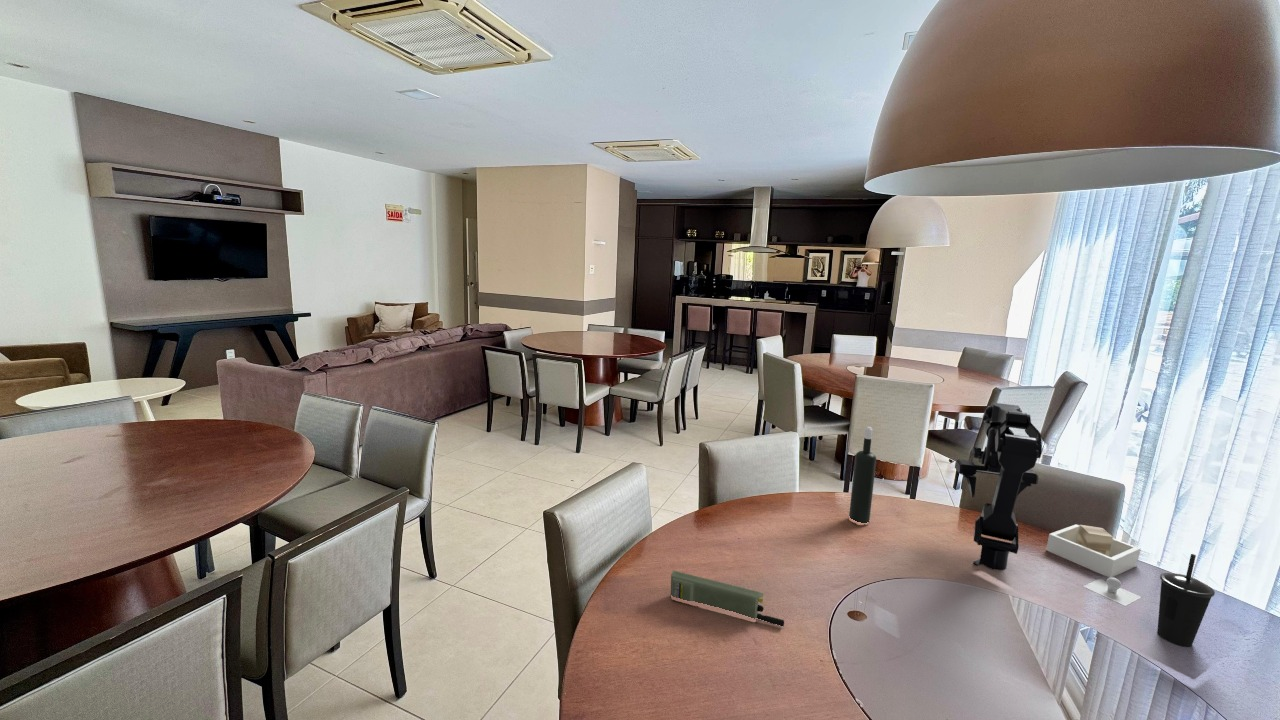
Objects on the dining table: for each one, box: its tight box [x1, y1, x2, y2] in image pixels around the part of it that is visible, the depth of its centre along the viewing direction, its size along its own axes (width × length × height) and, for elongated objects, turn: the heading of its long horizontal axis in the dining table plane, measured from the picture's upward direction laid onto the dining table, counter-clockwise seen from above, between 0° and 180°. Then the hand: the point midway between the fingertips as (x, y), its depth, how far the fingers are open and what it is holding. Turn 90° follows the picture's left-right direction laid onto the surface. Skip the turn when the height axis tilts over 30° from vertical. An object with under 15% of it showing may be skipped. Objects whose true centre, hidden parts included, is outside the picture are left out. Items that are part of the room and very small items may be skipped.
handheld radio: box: [670, 570, 785, 627], centre depth 111 cm, size 7×3×25 cm
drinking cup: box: [1156, 553, 1216, 648], centre depth 104 cm, size 8×8×20 cm
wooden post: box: [1075, 524, 1114, 557], centre depth 135 cm, size 5×5×8 cm
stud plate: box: [1082, 577, 1142, 607], centre depth 120 cm, size 8×8×5 cm
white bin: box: [1046, 523, 1141, 578], centre depth 135 cm, size 14×14×6 cm
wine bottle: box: [848, 426, 877, 523], centre depth 152 cm, size 6×6×30 cm
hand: (990, 499), depth 145 cm, fingers open, 9 cm apart
